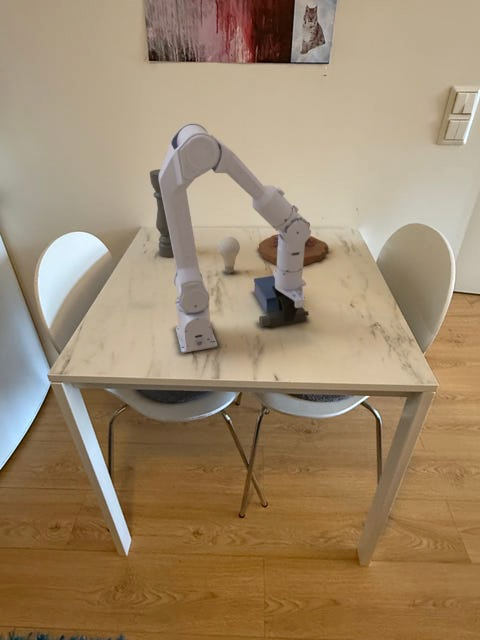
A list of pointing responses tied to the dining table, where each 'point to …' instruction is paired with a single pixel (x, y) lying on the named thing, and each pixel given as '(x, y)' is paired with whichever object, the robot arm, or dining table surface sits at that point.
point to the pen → (282, 318)
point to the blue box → (266, 293)
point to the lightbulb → (229, 252)
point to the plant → (312, 249)
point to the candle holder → (161, 218)
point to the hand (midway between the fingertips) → (286, 316)
